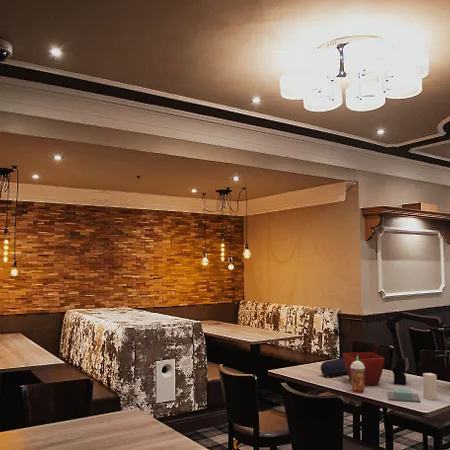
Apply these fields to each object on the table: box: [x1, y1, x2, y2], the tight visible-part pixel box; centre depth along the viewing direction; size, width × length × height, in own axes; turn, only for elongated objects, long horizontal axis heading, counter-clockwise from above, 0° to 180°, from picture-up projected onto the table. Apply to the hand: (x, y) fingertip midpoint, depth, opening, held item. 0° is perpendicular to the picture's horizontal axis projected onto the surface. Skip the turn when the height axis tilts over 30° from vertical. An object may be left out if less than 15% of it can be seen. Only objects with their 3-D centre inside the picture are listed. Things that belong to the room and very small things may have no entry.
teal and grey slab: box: [387, 388, 421, 404], centre depth 268 cm, size 16×14×4 cm
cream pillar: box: [422, 372, 438, 401], centre depth 267 cm, size 5×5×13 cm
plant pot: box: [342, 351, 385, 387], centre depth 300 cm, size 19×19×17 cm
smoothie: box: [350, 356, 365, 394], centre depth 282 cm, size 8×8×20 cm
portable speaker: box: [320, 358, 348, 378], centre depth 321 cm, size 25×10×10 cm, turn 124°
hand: (446, 365), depth 284 cm, fingers open, 9 cm apart
